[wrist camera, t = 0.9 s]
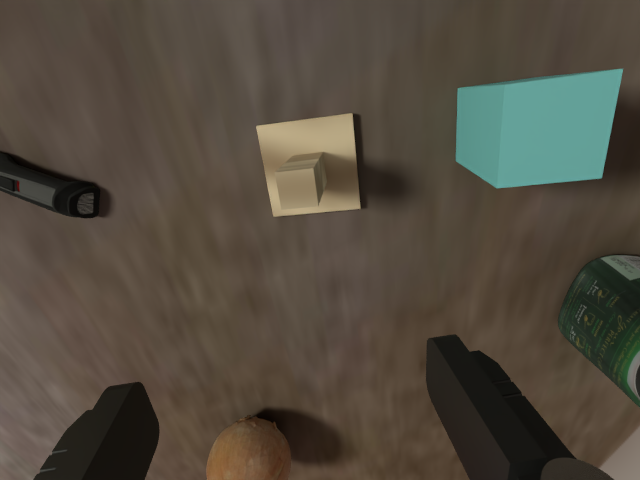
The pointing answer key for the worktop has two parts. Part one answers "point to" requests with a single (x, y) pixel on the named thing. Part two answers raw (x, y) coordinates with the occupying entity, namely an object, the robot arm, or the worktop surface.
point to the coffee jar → (607, 319)
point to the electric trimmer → (48, 190)
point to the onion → (250, 452)
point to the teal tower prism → (537, 128)
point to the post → (310, 165)
